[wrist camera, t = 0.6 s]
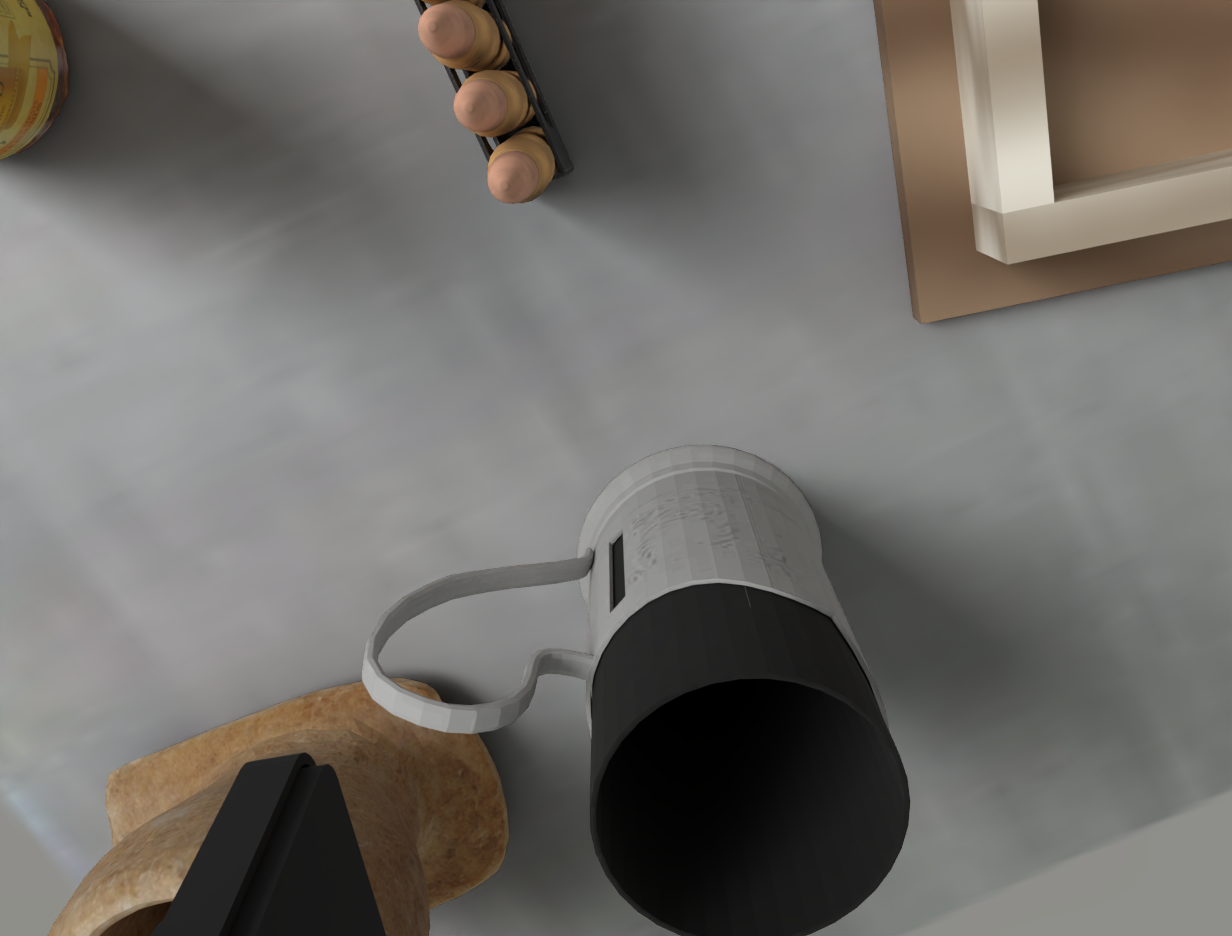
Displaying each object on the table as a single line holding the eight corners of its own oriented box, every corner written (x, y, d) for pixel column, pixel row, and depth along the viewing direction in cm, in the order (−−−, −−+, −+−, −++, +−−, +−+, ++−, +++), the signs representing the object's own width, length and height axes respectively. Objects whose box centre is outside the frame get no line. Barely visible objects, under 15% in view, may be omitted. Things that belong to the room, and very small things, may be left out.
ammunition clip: (368, -148, 34) (249, -263, 23) (425, -176, 34) (333, -307, 22) (522, 193, 37) (485, 243, 26) (574, 169, 37) (560, 209, 26)
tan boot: (428, 586, 41) (336, 851, 27) (542, 850, 45) (514, 1206, 31) (48, 709, 43) (-228, 1021, 29) (188, 955, 46) (5, 1341, 32)
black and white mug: (781, 693, 43) (869, 998, 29) (404, 609, 42) (300, 884, 27) (854, 477, 40) (991, 695, 26) (454, 380, 39) (368, 553, 25)
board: (845, -219, 33) (876, -257, 30) (1408, -349, 32) (1515, -406, 29) (913, 317, 38) (947, 344, 35) (1403, 217, 37) (1492, 233, 34)
